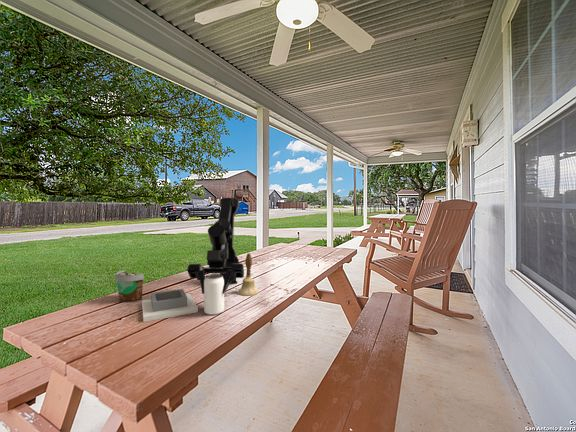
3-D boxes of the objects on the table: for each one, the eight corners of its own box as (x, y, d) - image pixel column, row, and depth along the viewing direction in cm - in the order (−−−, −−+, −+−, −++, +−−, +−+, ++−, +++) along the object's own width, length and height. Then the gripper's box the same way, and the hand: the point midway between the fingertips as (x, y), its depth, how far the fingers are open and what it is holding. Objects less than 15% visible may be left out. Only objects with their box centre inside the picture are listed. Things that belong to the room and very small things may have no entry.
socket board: (189, 297, 106) (189, 285, 105) (197, 312, 92) (197, 298, 92) (142, 304, 98) (141, 292, 98) (143, 322, 84) (143, 307, 84)
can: (221, 315, 89) (221, 278, 89) (201, 315, 89) (201, 278, 89) (226, 307, 96) (226, 273, 95) (207, 307, 96) (207, 273, 95)
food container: (107, 299, 103) (107, 273, 102) (124, 294, 108) (123, 269, 108) (128, 305, 97) (127, 277, 96) (144, 300, 102) (144, 273, 102)
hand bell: (260, 289, 116) (260, 251, 115) (256, 296, 108) (256, 255, 107) (240, 288, 117) (240, 251, 116) (235, 295, 108) (235, 255, 108)
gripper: (188, 240, 94) (178, 281, 84) (243, 240, 96) (240, 280, 85) (194, 258, 103) (186, 298, 92) (245, 258, 104) (242, 297, 94)
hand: (213, 293), depth 91 cm, fingers closed on can, 6 cm apart
